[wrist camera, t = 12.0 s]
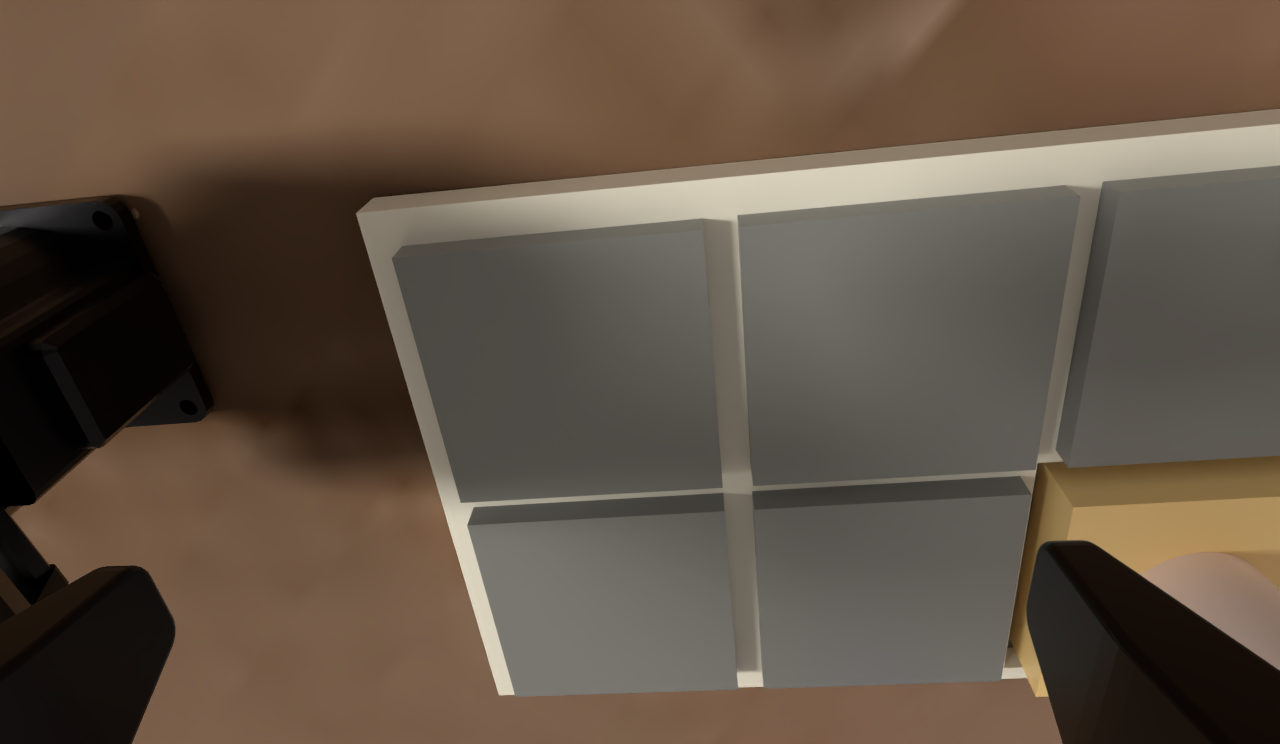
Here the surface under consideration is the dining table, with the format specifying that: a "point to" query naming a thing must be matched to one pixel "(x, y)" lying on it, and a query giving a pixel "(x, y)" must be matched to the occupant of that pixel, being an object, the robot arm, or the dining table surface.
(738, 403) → the button board
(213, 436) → the dining table surface
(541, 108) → the dining table surface
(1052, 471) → the amber button
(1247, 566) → the smoothie
